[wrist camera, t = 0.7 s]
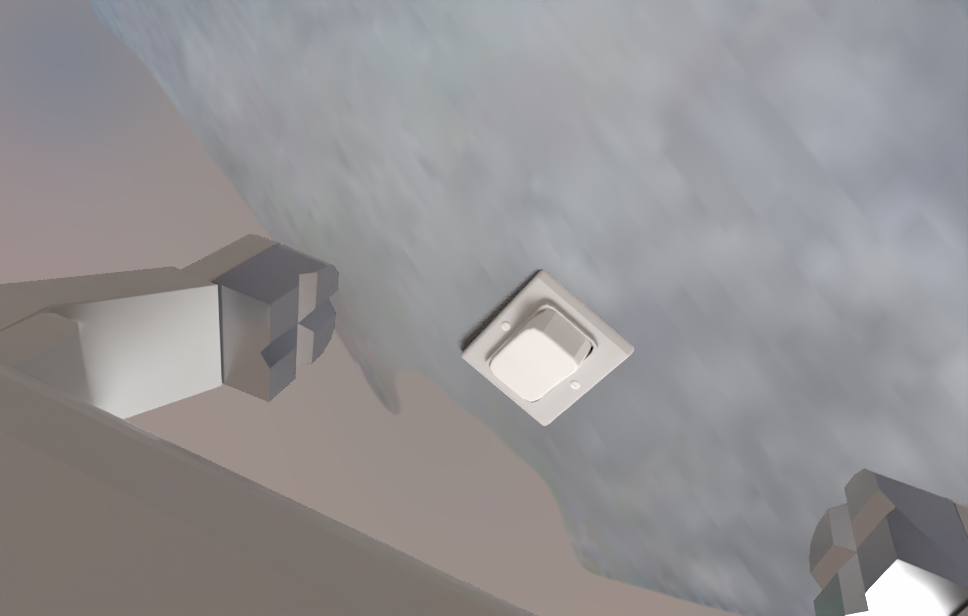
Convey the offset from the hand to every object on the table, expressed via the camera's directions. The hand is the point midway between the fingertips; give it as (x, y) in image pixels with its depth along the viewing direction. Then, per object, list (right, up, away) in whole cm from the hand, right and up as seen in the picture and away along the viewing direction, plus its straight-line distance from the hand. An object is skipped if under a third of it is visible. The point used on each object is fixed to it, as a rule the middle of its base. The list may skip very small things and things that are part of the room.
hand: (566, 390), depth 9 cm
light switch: (+5, -2, +48) cm, 48 cm away
